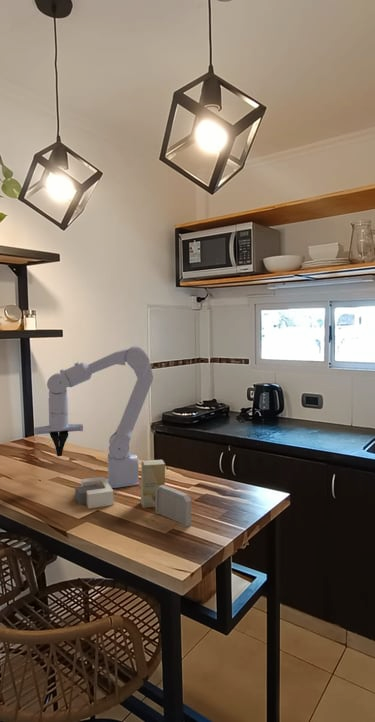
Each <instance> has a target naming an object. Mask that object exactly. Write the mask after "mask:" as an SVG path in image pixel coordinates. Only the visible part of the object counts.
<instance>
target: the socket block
mask: <svg viewBox="0 0 375 722" xmlns="http://www.w3.org/2000/svg"><path fill="white" fill-rule="evenodd" d="M106 479H107V478H106V477H105V476H98V477H91V478H81V479H80V485H81V486H80V487H82V486H88V485H95V484H96V485H97V487H98V488H99V489H96V490H88V491H86V495H87V504H86V507H87V509H95V508H102V507H109V506H114V504H115V503H114V501H115V500H114V489H113V488H111V486H110V485H109V483H108V482H107V480H106Z"/></svg>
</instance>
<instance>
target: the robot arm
mask: <svg viewBox="0 0 375 722" xmlns="http://www.w3.org/2000/svg"><path fill="white" fill-rule="evenodd" d="M126 364H128V367H130V368H131V369H132V370H133V371H134V373H135V376H136V378H137V379H136V382H135V384H134V386H133V389H132V391H131V394H130V396H129V398H128V402H127V404H126V406H125V408H124V411H123V413H122V417H121V419H120V421H119V424H118V425H117V428H116V430H115V432H114V433H112V435H111V436H110V438H109V439H108V440H109V441H108V443H109V446H108V452H109V453H108V454H107V478H106V480H107V482H108V483H109V485H110V486H111V488H112V489H114V488H115V489H116V488H124V487H130V486H138V485H140V482H139V477H140V476H139V458H138V455H137V454H131V452H130V441H131V439H132V436H133V435H132V434H133V430H134V428H135V426H136V424H137V420H138V418H139V415H140V413H141V411H142V407H143V406H144V403H145V400H146V399H147V398H146V397H147V395H148V393H149V391H150V388H151V386H152V383H153V380H154V375H153V370H152V366H151V360H150V358H149V356H148V354H147V353H146V351H145V350H144V349H142V347H140V346H138V345H137V346H136V345H135V346H134V345H133V346H131V347H129V348H124V349H121V350H118V351H115V352H112V353H110V354H108V355H106V356H104V357H102V358H98V359H97V360H95V361H93V362H91V363H88V364H87V363H85V362H80V363H79V361H78V362H76V363H74V364H73V365H74V366H71V367H69V368H65V369H63V368H62V369H60V370H59V373H58V372H57V373H54V374H52V375H51V376H50V377H49V378H48V380H47V382H46V386H47V389H48V425H44V426H35V427H33V434H34V436H38V435H45V434H49V436H50V438H51V439H52V443H53V445H54V446H55V447H54V448H55V452H56V456H57V457H62V456H63V451H64V447H65V445H66V442H67V440H68V437H69V432H84V425H83V424H82V423H69V403H68V402H69V400H68V399H69V397H68V389H67V388H73V387H75V386H78V385H80V384H82V383H84V382H87V381H89V380H91V378H92V375H93V374H95V373H97V372H100V371H102V370H104V369H108V368H110V367H113V366H115V365H118V366H119V365H120V366H126Z"/></svg>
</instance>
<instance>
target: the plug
mask: <svg viewBox="0 0 375 722" xmlns="http://www.w3.org/2000/svg"><path fill="white" fill-rule="evenodd" d="M96 489H99V488H98V487H97V485H96V484H95V485H88V486H82V487H81V486H77V487H75V489H74V492H75V493H74V494H75V500H76V502H77V504H79V505H85V504H86V505H87V495H86V491H88V490H96Z"/></svg>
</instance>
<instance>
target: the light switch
mask: <svg viewBox="0 0 375 722" xmlns="http://www.w3.org/2000/svg"><path fill="white" fill-rule="evenodd" d="M154 509H155V511H154V512H155V513H154V514H156V515H162V516H164V517H166V518H168V519H170V520H173V521H175V522H176V523H179V524H181V525H182V526H183V527H186V528H188V527H190V526H192V499H191V498H190V496H189V494H188V493H187V492H183V491H181V490H178V489H176V488H173V487H170V486H169V485H166V484H165V485H161V486H158V487H157V489H156V490H155V507H154Z"/></svg>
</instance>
